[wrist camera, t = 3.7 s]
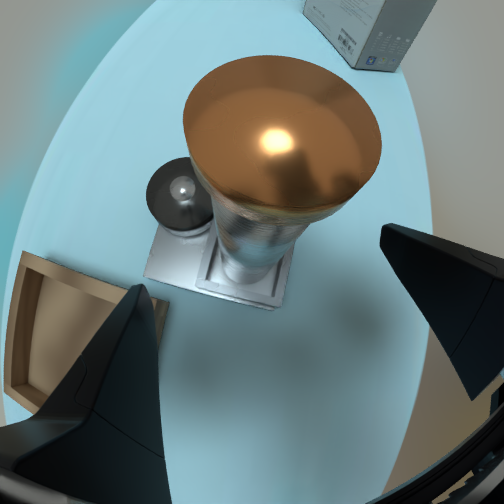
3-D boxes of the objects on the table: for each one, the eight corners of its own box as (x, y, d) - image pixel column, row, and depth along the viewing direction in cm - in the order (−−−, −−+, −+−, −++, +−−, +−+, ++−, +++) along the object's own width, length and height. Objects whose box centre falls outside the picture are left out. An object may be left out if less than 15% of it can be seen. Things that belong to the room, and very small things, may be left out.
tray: (169, 302, 18) (157, 299, 15) (140, 445, 15) (127, 464, 12) (45, 259, 18) (22, 250, 15) (25, 386, 15) (3, 391, 12)
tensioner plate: (295, 202, 21) (307, 181, 17) (272, 311, 19) (282, 310, 15) (170, 173, 20) (160, 148, 17) (135, 274, 18) (116, 266, 15)
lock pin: (280, 240, 19) (377, 85, 5) (268, 295, 18) (379, 233, 4) (225, 226, 19) (219, 44, 5) (211, 281, 18) (149, 175, 4)
